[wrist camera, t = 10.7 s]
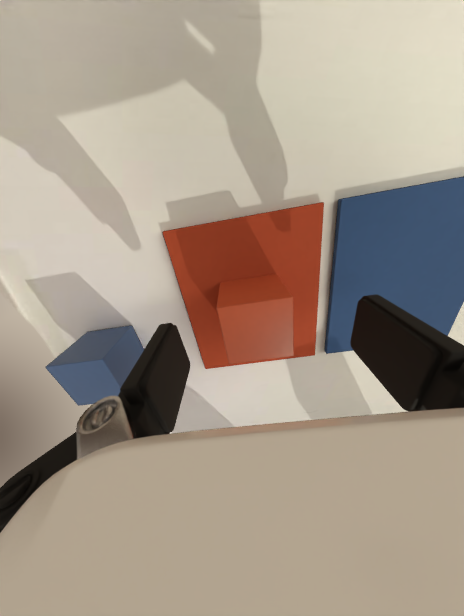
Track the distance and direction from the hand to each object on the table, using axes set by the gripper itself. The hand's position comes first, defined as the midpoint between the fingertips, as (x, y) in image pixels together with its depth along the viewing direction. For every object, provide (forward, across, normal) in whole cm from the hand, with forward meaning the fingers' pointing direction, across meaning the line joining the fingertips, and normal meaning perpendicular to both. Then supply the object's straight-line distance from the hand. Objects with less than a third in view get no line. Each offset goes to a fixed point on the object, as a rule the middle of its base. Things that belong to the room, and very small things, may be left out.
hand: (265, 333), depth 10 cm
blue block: (+5, +12, +3) cm, 14 cm away
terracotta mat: (+5, 0, +1) cm, 5 cm away
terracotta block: (+4, 0, 0) cm, 5 cm away
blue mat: (+5, -11, +1) cm, 12 cm away
